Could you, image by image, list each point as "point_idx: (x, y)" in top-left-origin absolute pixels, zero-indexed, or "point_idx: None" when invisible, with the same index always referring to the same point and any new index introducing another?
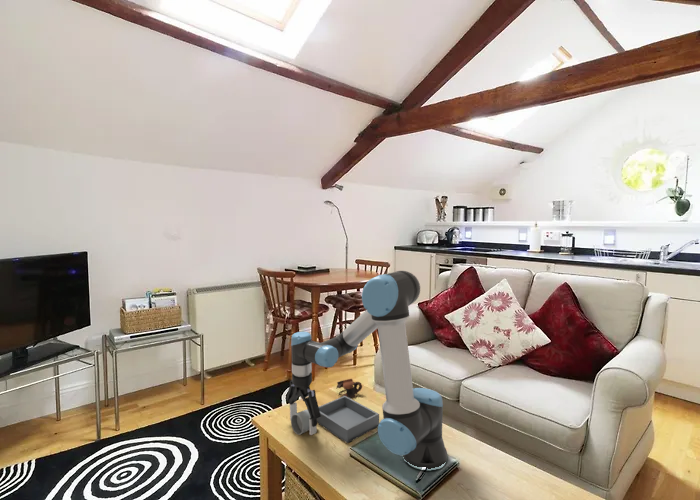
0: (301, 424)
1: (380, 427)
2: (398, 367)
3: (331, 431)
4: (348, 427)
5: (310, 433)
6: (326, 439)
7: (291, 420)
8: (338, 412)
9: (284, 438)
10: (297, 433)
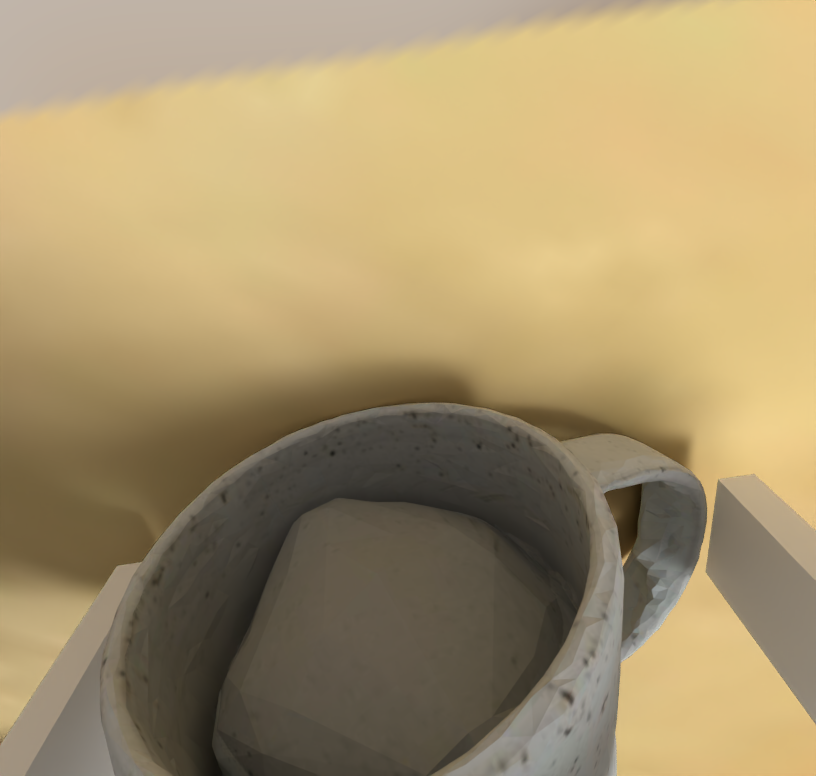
0: (300, 601)
1: None
2: None
3: None
4: None
5: (109, 587)
6: (48, 654)
7: (580, 500)
8: None
9: (344, 161)
10: (345, 424)
